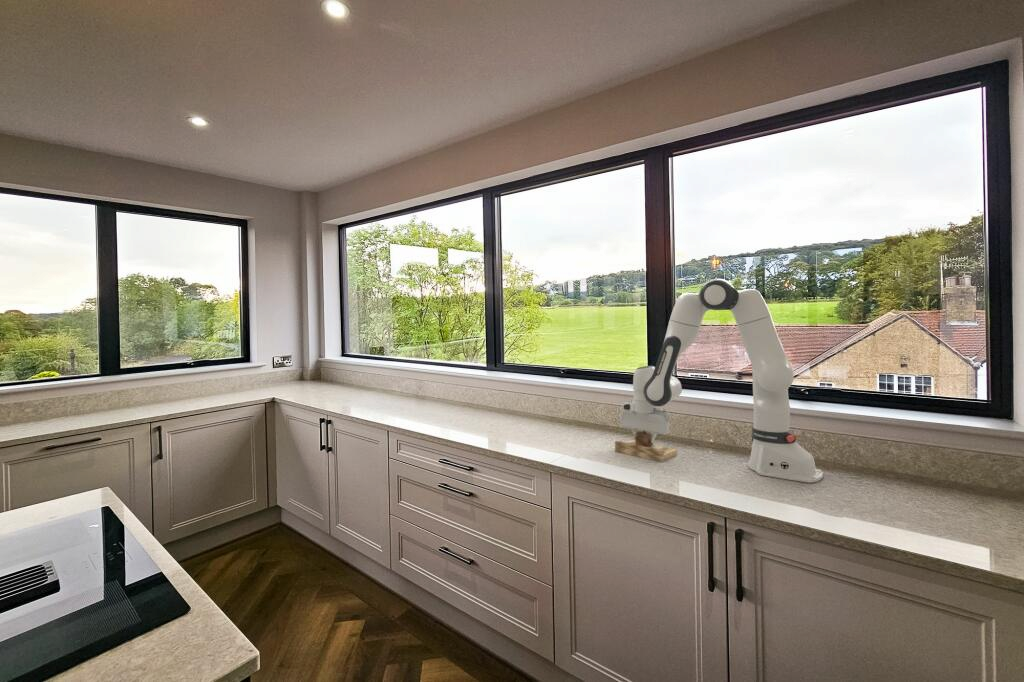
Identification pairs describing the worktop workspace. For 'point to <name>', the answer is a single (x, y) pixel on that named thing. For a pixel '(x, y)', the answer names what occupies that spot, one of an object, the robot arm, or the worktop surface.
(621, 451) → the board
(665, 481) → the worktop surface
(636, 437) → the brown wooden block
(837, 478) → the worktop surface
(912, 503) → the worktop surface
